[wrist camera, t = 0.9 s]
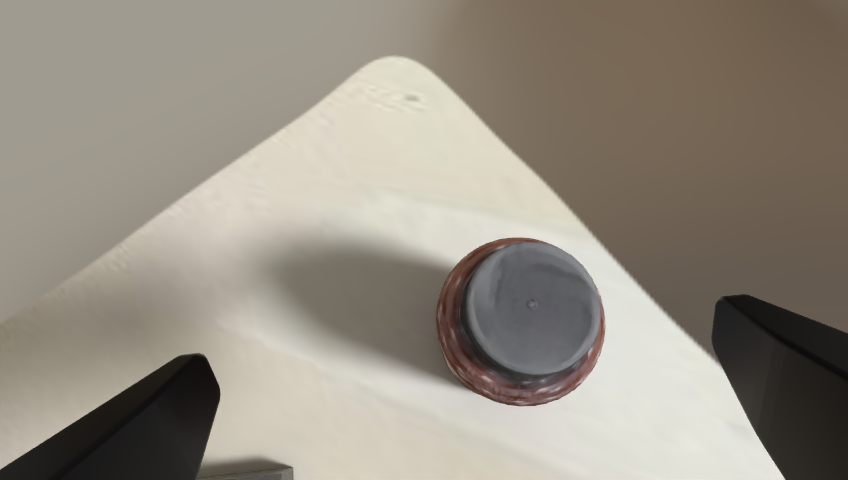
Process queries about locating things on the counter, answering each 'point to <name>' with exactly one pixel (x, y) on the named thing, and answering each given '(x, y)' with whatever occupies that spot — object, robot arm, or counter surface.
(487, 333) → the supplement bottle
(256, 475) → the gold-rimmed square tray
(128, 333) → the counter surface
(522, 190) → the counter surface
